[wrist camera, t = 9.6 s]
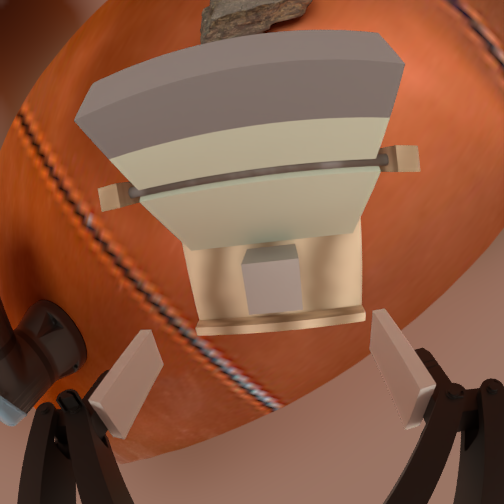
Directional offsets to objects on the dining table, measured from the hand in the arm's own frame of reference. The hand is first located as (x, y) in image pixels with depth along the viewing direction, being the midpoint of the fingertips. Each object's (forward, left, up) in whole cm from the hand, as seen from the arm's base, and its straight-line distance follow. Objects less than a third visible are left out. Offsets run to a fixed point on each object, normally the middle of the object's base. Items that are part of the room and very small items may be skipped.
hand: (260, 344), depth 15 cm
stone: (0, +1, -15) cm, 15 cm away
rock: (+2, +30, -19) cm, 36 cm away
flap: (0, +11, -10) cm, 15 cm away
